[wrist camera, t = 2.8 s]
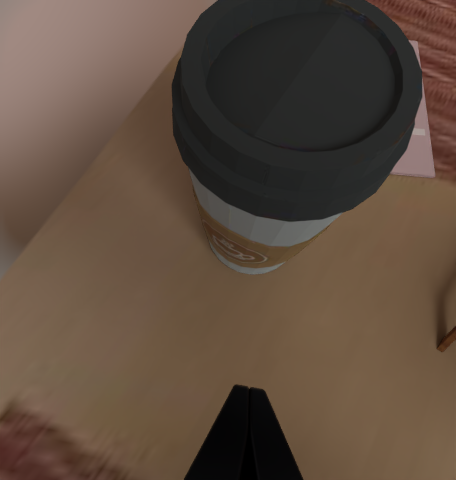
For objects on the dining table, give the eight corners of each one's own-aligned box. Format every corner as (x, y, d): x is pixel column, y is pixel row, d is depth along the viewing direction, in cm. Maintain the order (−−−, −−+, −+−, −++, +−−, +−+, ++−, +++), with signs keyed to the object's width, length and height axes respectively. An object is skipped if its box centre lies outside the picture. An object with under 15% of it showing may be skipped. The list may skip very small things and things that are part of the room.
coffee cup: (171, 249, 24) (102, 94, 9) (233, 163, 26) (254, -64, 12) (272, 313, 22) (372, 248, 8) (327, 217, 25) (479, 37, 11)
